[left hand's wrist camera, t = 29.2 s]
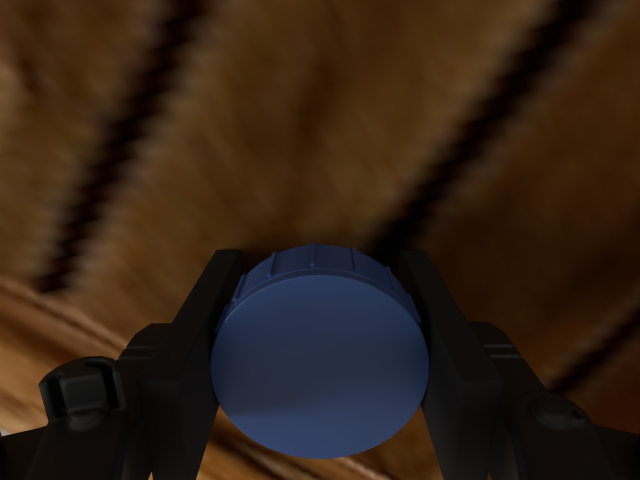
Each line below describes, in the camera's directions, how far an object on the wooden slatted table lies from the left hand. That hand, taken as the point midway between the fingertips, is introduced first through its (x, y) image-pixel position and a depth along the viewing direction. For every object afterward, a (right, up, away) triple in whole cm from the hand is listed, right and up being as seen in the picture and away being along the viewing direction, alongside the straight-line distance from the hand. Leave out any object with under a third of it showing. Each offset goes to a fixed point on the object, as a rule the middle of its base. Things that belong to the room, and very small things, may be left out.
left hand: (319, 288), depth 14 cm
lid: (0, -1, -4) cm, 4 cm away
